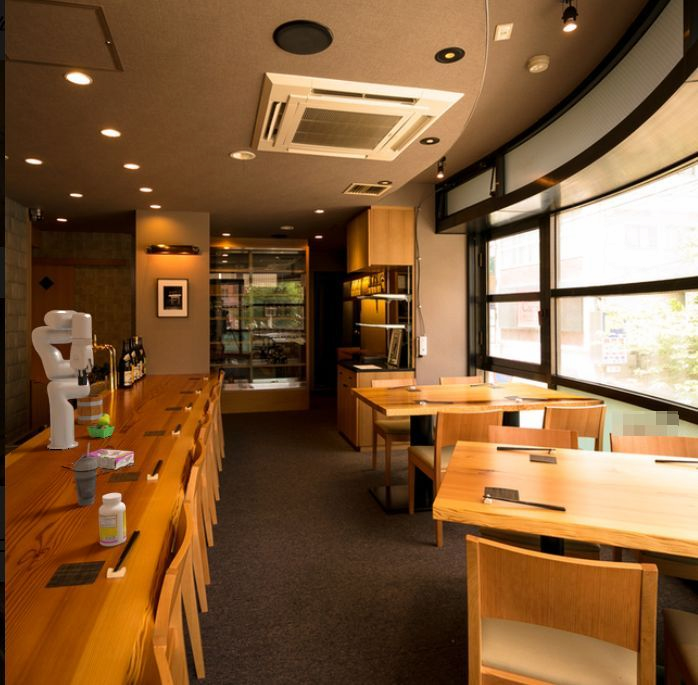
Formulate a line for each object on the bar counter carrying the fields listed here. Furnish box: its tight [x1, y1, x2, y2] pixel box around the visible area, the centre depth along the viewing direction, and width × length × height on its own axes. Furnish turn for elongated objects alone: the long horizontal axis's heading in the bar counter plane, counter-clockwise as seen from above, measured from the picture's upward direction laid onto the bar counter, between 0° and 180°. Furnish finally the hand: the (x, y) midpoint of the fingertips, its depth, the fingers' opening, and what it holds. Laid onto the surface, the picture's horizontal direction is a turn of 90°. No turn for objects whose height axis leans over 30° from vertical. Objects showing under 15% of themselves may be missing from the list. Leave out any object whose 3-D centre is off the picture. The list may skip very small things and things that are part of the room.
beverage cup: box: [72, 442, 98, 507], centre depth 168 cm, size 7×7×20 cm
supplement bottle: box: [98, 492, 127, 547], centre depth 140 cm, size 7×7×13 cm
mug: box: [76, 394, 104, 425], centre depth 298 cm, size 20×14×15 cm
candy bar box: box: [81, 448, 135, 470], centre depth 211 cm, size 11×5×16 cm
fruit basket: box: [86, 413, 115, 439], centre depth 261 cm, size 11×9×11 cm
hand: (82, 385), depth 221 cm, fingers closed
